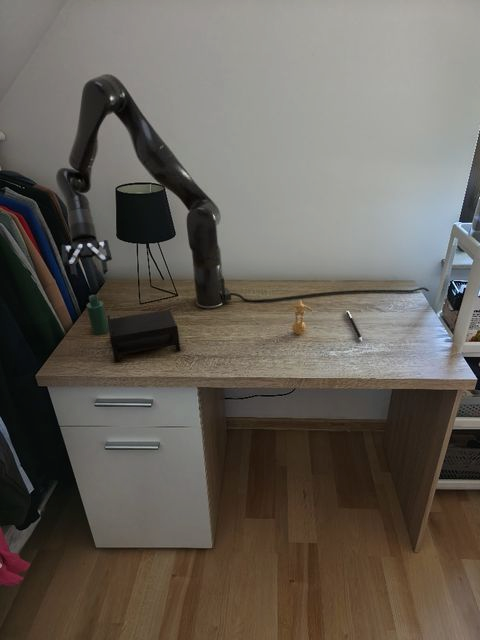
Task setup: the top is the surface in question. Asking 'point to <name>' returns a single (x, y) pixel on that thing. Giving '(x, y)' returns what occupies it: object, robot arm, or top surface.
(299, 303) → the figurine
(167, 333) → the black rectangular case
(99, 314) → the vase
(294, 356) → the top surface
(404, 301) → the top surface
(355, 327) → the pen
